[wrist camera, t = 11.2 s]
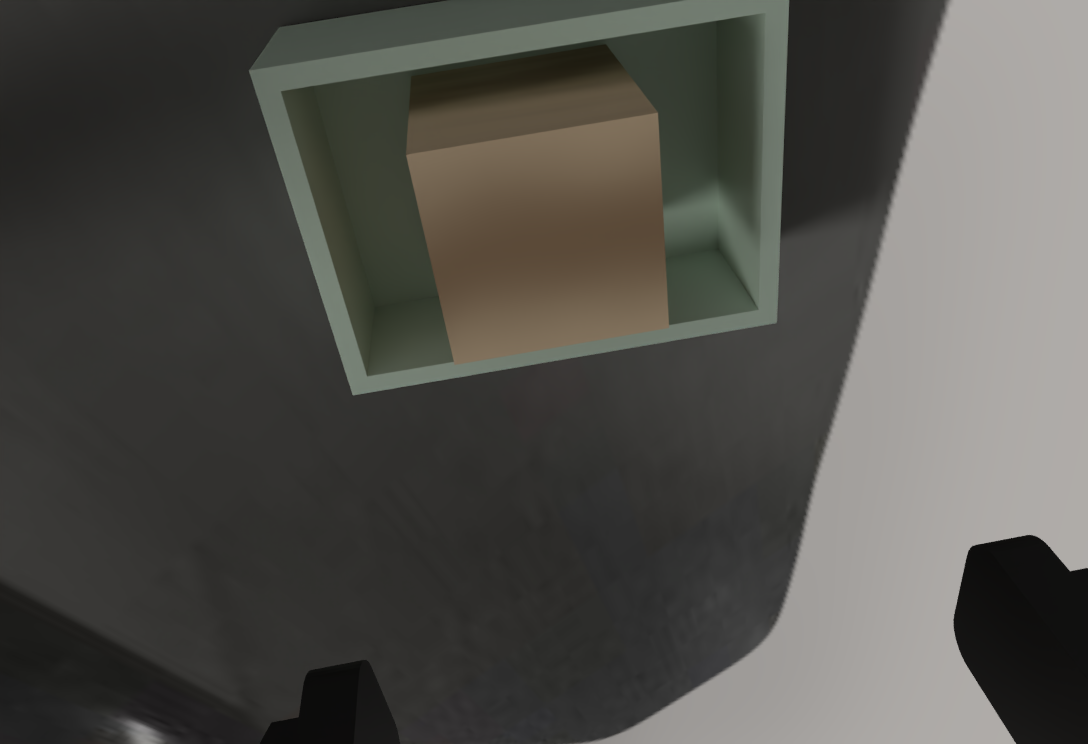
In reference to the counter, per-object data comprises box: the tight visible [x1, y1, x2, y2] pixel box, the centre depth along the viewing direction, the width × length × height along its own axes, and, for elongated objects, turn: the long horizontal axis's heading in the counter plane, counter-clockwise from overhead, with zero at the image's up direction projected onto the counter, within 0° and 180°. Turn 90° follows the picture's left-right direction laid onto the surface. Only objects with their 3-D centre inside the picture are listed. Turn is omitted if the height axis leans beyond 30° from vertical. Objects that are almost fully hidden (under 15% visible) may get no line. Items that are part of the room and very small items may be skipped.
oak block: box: [406, 44, 669, 365], centre depth 24 cm, size 6×6×7 cm
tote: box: [249, 0, 789, 395], centre depth 26 cm, size 14×10×5 cm
